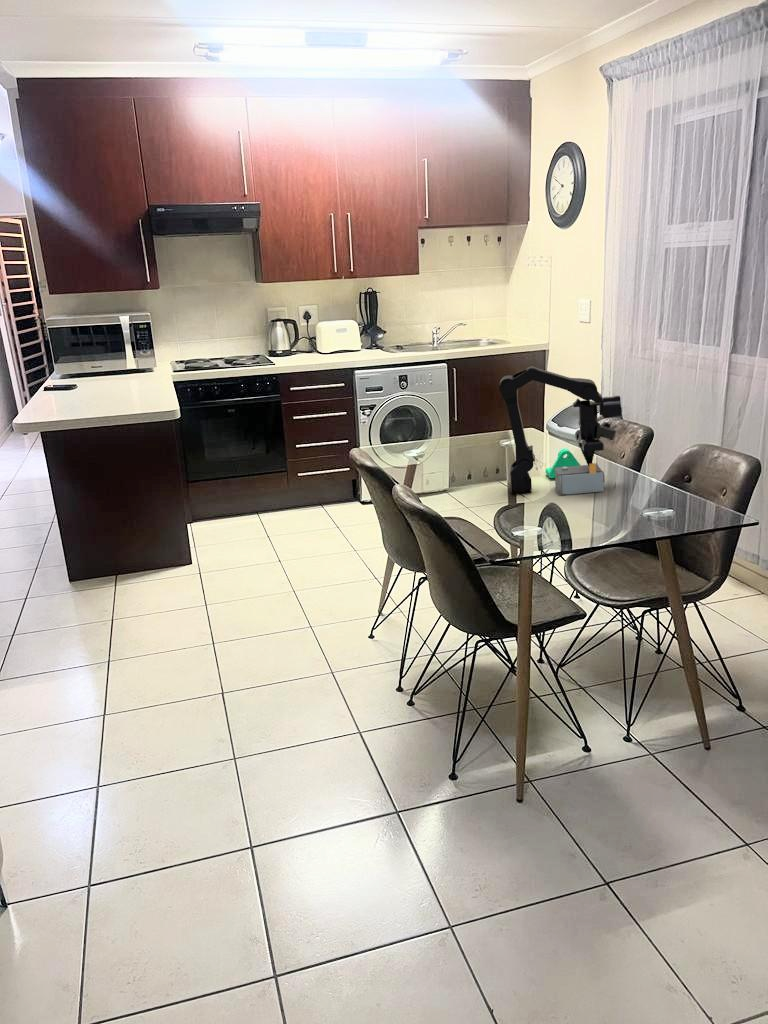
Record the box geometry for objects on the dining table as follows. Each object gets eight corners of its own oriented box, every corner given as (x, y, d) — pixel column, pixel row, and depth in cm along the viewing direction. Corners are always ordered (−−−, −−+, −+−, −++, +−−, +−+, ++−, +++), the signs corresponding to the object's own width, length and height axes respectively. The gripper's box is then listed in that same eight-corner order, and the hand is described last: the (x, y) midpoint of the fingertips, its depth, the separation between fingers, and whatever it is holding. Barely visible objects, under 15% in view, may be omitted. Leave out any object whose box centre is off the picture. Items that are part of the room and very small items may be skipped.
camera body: (559, 494, 248) (558, 472, 246) (555, 487, 256) (554, 466, 253) (606, 490, 247) (605, 468, 244) (600, 483, 254) (600, 461, 252)
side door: (559, 495, 247) (558, 467, 244) (559, 494, 248) (557, 466, 245) (603, 491, 246) (603, 463, 243) (603, 490, 247) (602, 462, 244)
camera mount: (578, 471, 271) (577, 443, 267) (584, 477, 263) (583, 449, 260) (545, 475, 271) (544, 447, 268) (550, 481, 264) (549, 453, 260)
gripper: (619, 423, 234) (620, 471, 239) (608, 410, 251) (608, 455, 256) (583, 426, 235) (584, 474, 240) (574, 413, 253) (575, 458, 258)
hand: (589, 465), depth 249 cm, fingers closed
